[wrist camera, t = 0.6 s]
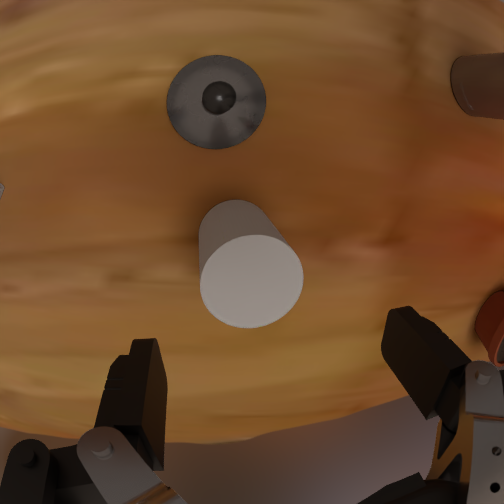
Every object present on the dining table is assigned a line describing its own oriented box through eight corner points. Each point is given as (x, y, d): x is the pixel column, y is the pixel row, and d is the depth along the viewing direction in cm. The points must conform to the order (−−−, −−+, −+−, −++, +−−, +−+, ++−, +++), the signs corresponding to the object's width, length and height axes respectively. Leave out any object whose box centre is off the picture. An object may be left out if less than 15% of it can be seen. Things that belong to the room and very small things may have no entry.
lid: (227, 41, 28) (232, 26, 23) (281, 113, 32) (295, 110, 27) (149, 95, 29) (140, 89, 24) (205, 167, 33) (206, 173, 28)
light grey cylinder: (185, 249, 36) (181, 304, 25) (222, 186, 34) (234, 215, 23) (247, 279, 38) (267, 340, 27) (284, 222, 36) (322, 264, 25)
